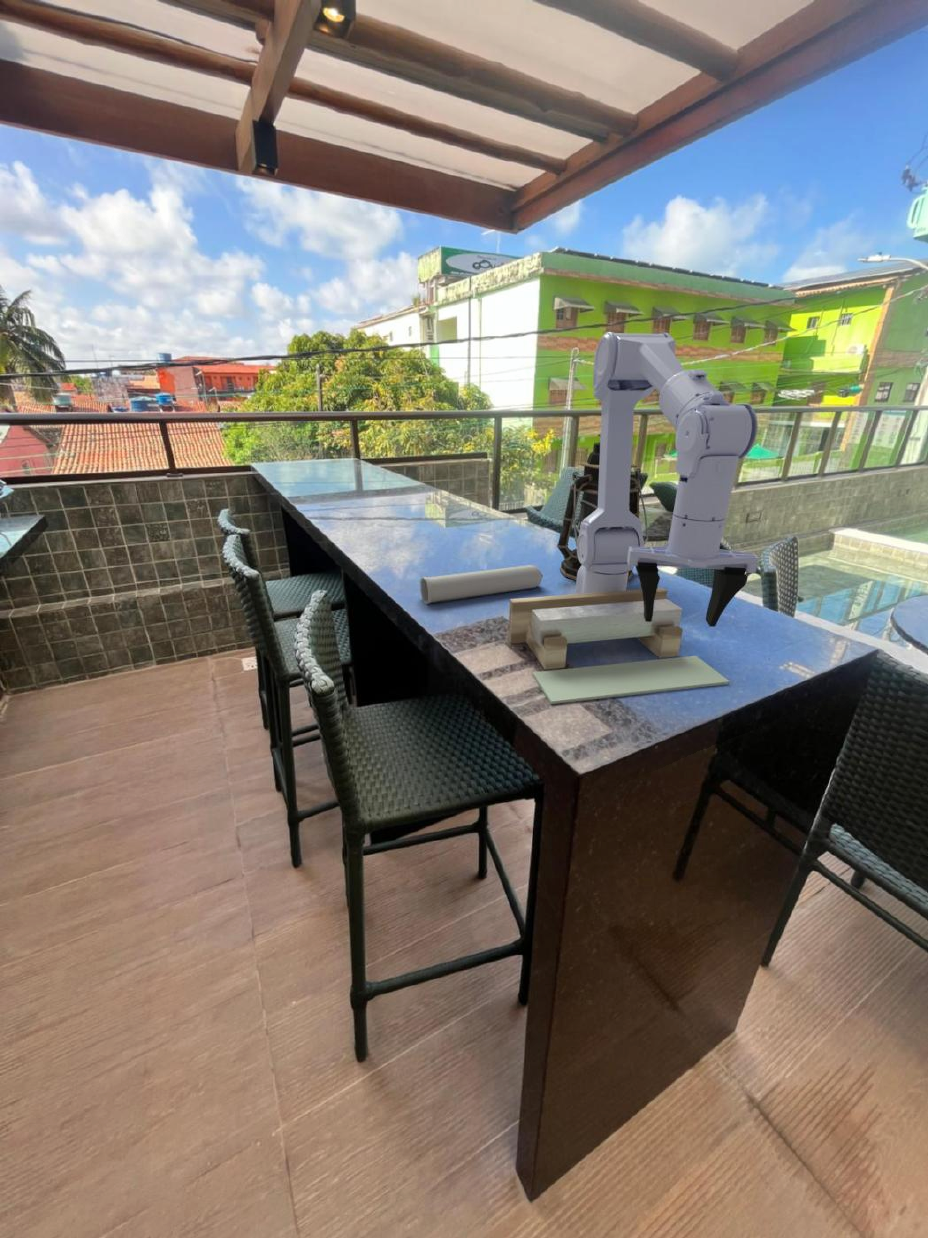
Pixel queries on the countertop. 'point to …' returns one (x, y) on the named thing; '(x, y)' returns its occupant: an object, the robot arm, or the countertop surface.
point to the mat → (626, 679)
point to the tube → (479, 583)
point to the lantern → (591, 508)
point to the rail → (603, 621)
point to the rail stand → (556, 647)
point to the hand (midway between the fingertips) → (678, 621)
